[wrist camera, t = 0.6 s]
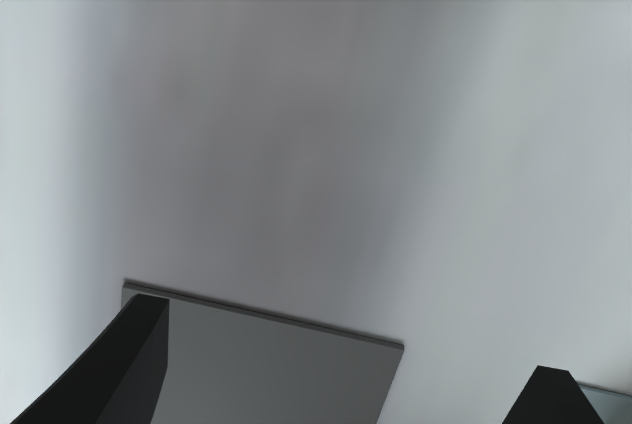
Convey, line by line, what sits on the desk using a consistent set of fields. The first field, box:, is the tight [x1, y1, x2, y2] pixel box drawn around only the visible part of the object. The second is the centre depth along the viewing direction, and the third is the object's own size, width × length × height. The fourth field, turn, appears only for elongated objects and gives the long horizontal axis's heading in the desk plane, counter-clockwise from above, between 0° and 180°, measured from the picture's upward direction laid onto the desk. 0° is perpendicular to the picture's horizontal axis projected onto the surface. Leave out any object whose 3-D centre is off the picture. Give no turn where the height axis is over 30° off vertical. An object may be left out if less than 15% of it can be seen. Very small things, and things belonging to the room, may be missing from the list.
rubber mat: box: [121, 283, 404, 424], centre depth 27 cm, size 10×12×1 cm
